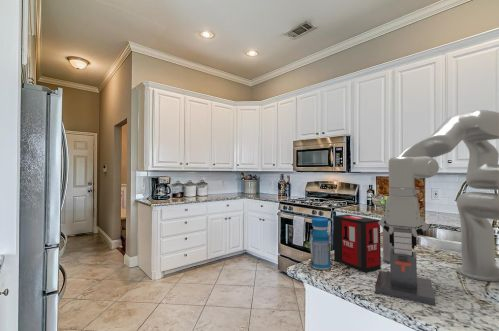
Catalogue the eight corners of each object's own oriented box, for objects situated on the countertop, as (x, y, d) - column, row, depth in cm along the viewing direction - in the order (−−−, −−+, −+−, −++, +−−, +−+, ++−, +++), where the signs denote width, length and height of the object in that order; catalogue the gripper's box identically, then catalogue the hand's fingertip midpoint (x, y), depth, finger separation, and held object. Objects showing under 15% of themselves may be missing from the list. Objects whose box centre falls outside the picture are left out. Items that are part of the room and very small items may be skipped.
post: (412, 277, 87) (411, 227, 88) (412, 283, 83) (411, 230, 83) (395, 274, 90) (394, 226, 91) (394, 279, 86) (393, 228, 86)
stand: (431, 285, 89) (430, 250, 89) (435, 305, 75) (434, 264, 76) (379, 275, 97) (379, 244, 98) (375, 292, 84) (374, 255, 84)
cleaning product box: (380, 269, 104) (379, 219, 105) (366, 273, 100) (365, 221, 101) (348, 257, 119) (347, 214, 119) (334, 260, 115) (333, 215, 115)
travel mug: (402, 264, 109) (401, 217, 110) (385, 263, 110) (384, 217, 111) (397, 259, 115) (396, 215, 116) (381, 259, 116) (380, 214, 117)
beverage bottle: (319, 271, 102) (318, 221, 102) (306, 264, 109) (305, 217, 110) (335, 268, 105) (334, 219, 106) (322, 262, 113) (321, 216, 113)
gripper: (431, 193, 86) (432, 247, 85) (375, 191, 95) (376, 240, 94) (433, 194, 80) (434, 253, 79) (372, 192, 89) (373, 245, 88)
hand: (402, 246), depth 87 cm, fingers closed on post, 5 cm apart
